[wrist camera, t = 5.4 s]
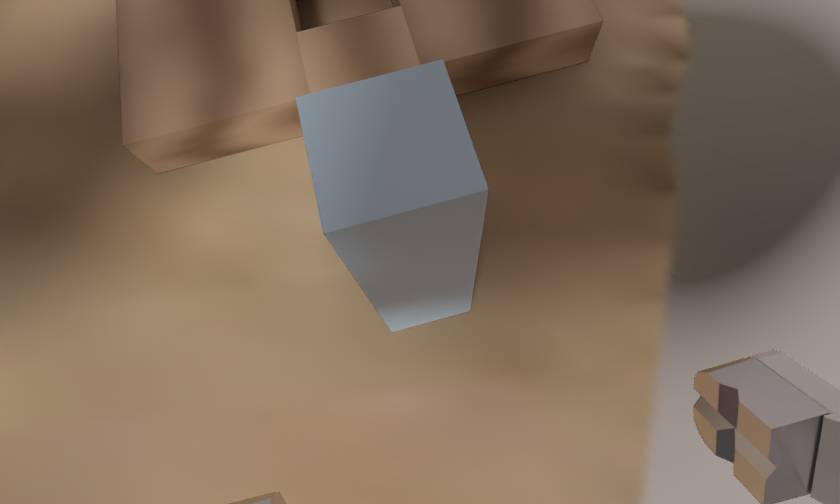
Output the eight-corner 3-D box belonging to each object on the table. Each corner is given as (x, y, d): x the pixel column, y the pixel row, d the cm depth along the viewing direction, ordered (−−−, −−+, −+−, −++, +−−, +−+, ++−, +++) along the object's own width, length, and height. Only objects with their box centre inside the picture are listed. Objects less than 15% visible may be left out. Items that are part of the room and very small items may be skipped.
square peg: (391, 332, 23) (323, 233, 11) (373, 258, 25) (295, 97, 12) (470, 310, 23) (488, 189, 11) (447, 238, 25) (442, 59, 12)
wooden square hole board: (156, 173, 27) (122, 145, 24) (143, -12, 32) (113, -53, 29) (588, 61, 28) (603, 20, 25) (507, -104, 33) (512, -153, 30)
